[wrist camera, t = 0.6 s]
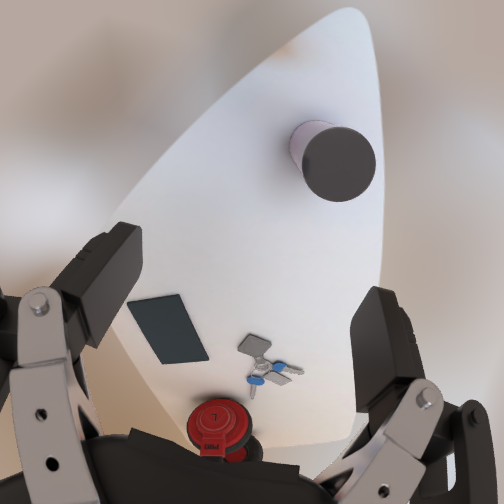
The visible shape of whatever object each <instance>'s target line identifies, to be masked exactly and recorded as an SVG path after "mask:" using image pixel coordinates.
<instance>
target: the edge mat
mask: <svg viewBox="0 0 504 504" xmlns="http://www.w3.org/2000/svg"><path fill="white" fill-rule="evenodd" d="M127 306H128V308H129V310H130V311H131V313H132V315H133V317H134V319H135V320H136V322H137V324H138V326H139V327H140V329H141V331H142V332H143V334H144V336H145V337H146V339H147V341H148V342H149V344H150V346H151V347H152V349H153V351H154V352H155V354H156V355H157V357H158V359H159V360H160V362H161V363H162V364H175V363H187V362H199V361H209V357H208V355H207V353H206V351H205V349H204V347H203V345H202V343H201V341H200V339H199V337H198V335H197V333H196V331H195V328H194V326H193V324H192V322H191V320H190V318H189V315H188V313H187V311H186V309H185V307H184V304H183V302H182V300H181V298H180V295H179V294H177V295H171V296H165V297H159V298H152V299H146V300H140V301H133V302H128V303H127Z"/></svg>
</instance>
